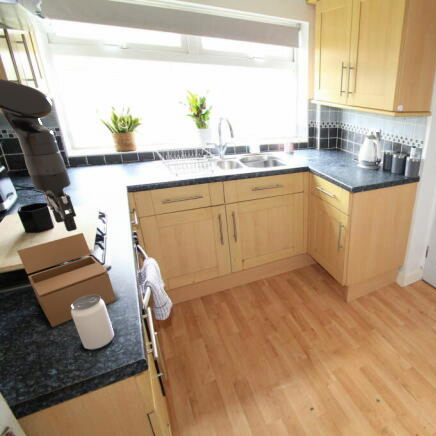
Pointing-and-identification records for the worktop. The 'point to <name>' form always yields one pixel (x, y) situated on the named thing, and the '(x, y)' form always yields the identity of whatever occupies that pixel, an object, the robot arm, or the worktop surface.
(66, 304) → the carton
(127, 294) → the worktop surface
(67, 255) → the flap
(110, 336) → the can
